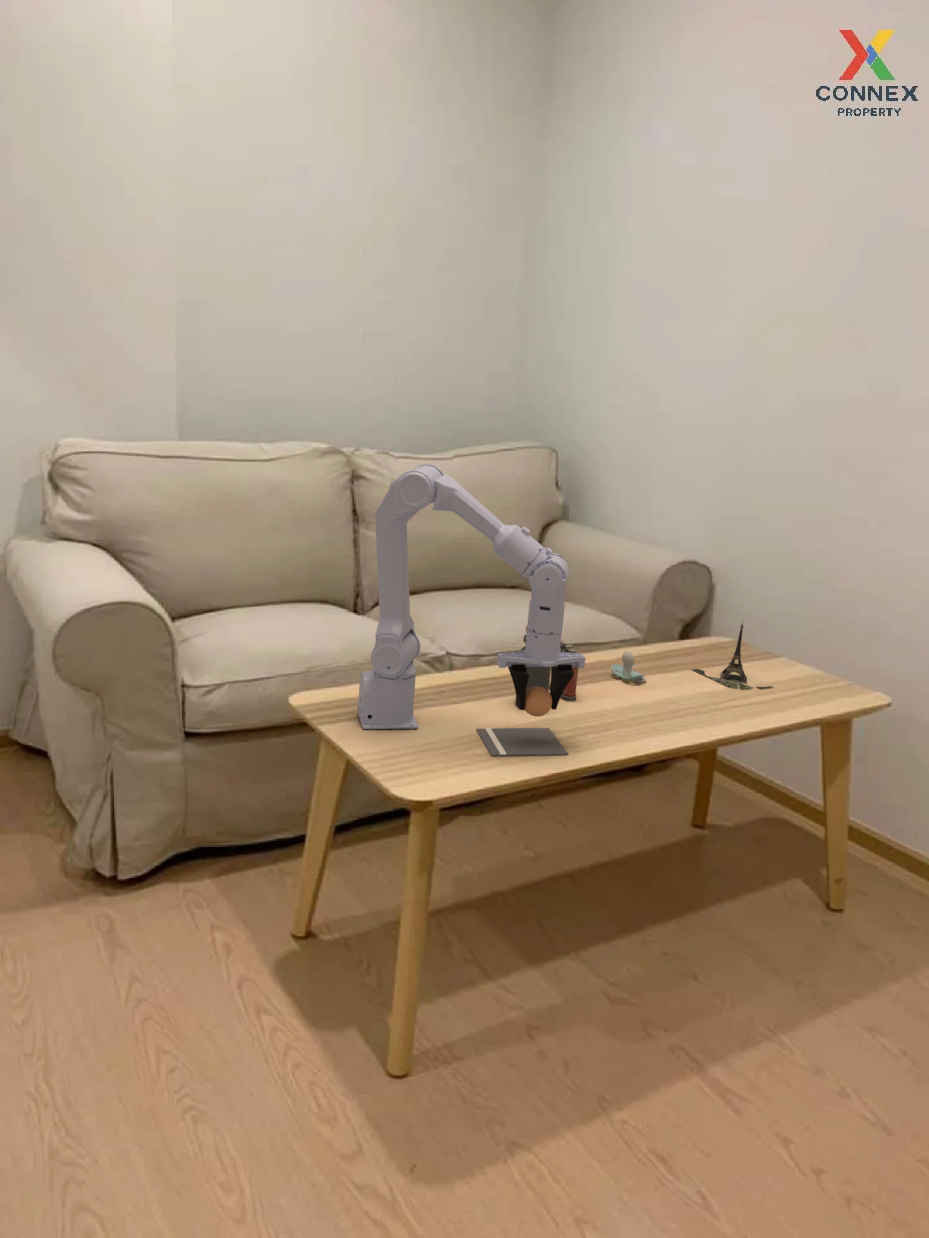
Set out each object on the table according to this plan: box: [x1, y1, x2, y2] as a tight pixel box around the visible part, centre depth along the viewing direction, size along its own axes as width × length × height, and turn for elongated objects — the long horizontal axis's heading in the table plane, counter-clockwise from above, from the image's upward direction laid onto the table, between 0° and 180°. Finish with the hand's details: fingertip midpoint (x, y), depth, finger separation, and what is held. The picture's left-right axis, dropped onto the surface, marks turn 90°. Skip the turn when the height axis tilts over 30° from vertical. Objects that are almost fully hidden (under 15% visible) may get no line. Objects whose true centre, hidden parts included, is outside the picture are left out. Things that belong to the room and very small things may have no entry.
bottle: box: [514, 625, 551, 711], centre depth 186 cm, size 6×6×15 cm
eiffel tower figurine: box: [690, 621, 774, 691], centre depth 211 cm, size 15×10×13 cm
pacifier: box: [610, 650, 647, 684], centre depth 206 cm, size 7×6×6 cm
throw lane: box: [475, 727, 569, 757], centre depth 171 cm, size 13×11×1 cm
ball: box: [524, 686, 552, 718], centre depth 169 cm, size 5×5×5 cm
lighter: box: [548, 639, 579, 702], centre depth 194 cm, size 8×3×10 cm, turn 22°
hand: (536, 707), depth 169 cm, fingers closed on ball, 5 cm apart
